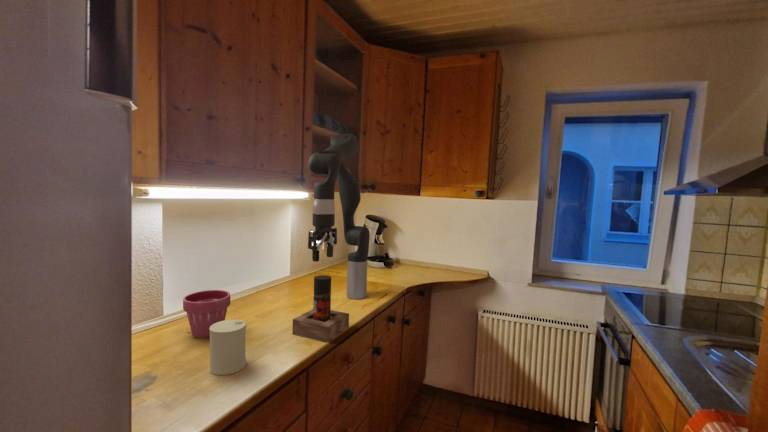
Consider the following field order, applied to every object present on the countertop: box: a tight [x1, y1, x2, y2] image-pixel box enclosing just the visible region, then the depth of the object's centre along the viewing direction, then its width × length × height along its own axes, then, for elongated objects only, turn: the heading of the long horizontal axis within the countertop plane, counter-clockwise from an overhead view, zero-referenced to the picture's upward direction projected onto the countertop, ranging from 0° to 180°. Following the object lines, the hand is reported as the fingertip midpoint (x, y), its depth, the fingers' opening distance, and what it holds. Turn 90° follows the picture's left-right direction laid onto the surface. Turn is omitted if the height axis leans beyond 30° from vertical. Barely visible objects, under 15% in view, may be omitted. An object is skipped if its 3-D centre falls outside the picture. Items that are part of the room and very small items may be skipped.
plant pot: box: [182, 289, 231, 339], centre depth 114 cm, size 14×14×13 cm
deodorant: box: [312, 274, 332, 322], centre depth 119 cm, size 6×6×15 cm
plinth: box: [292, 308, 350, 343], centre depth 119 cm, size 14×14×5 cm
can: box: [208, 319, 247, 376], centre depth 93 cm, size 9×9×12 cm
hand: (322, 259), depth 117 cm, fingers open, 8 cm apart
